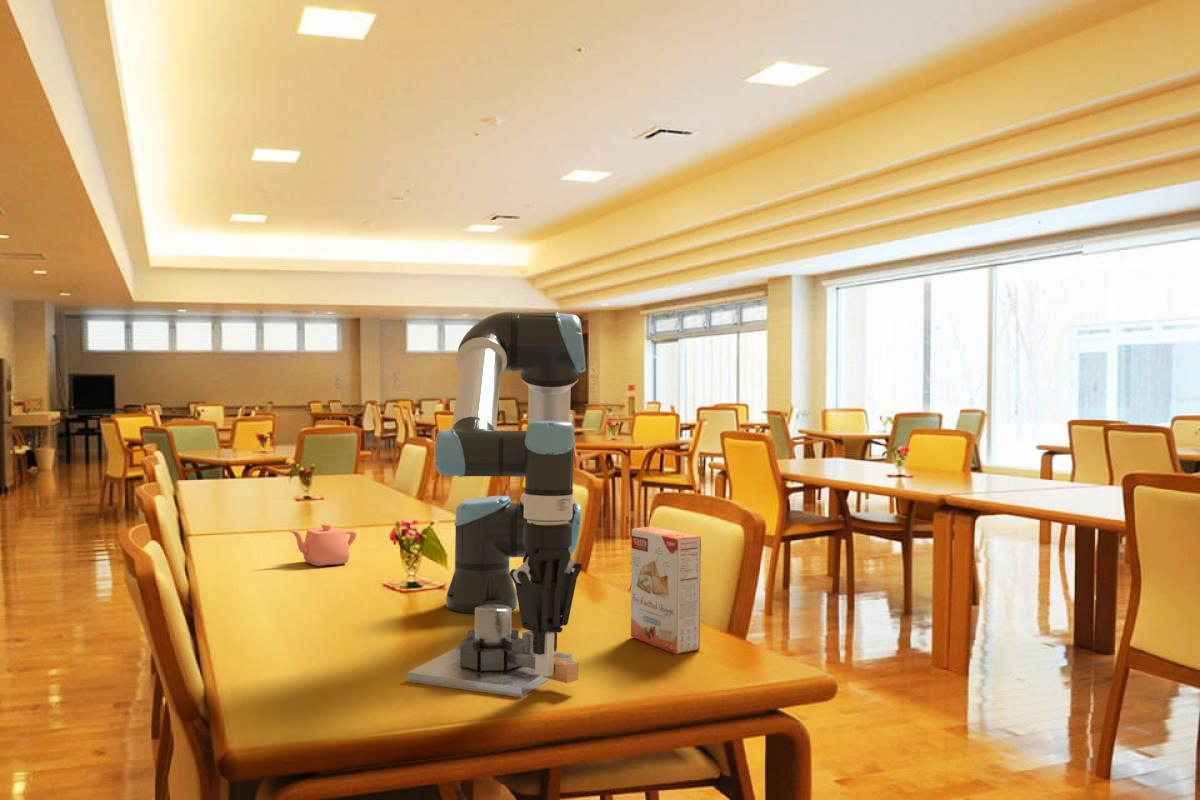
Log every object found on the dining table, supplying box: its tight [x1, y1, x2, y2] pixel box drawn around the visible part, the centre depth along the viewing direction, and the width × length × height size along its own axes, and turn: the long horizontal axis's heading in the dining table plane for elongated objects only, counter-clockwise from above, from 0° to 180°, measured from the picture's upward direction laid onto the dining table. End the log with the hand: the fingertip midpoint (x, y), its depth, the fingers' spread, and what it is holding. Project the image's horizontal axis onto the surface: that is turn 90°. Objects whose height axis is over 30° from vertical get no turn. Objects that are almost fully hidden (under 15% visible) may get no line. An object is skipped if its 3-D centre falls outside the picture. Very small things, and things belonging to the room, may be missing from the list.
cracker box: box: [630, 526, 702, 655], centre depth 176 cm, size 14×6×21 cm, turn 34°
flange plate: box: [406, 604, 573, 698], centre depth 158 cm, size 20×20×10 cm
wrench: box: [460, 628, 580, 684], centre depth 154 cm, size 23×10×4 cm, turn 51°
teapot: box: [289, 523, 358, 567], centre depth 252 cm, size 12×18×10 cm, turn 124°
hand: (544, 673), depth 148 cm, fingers closed
